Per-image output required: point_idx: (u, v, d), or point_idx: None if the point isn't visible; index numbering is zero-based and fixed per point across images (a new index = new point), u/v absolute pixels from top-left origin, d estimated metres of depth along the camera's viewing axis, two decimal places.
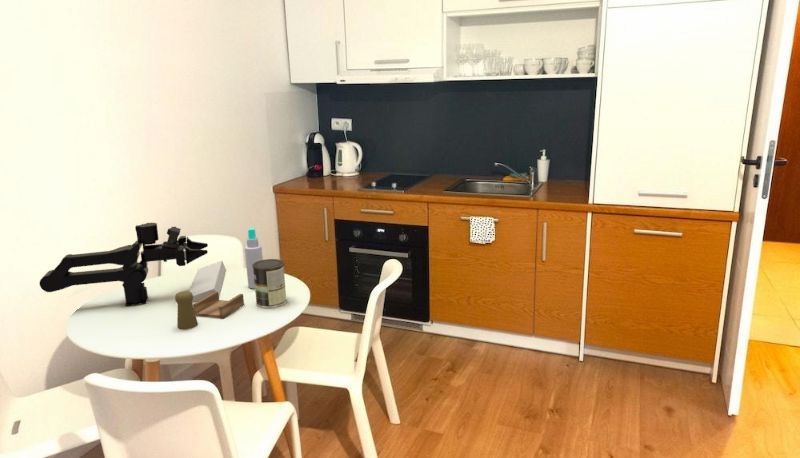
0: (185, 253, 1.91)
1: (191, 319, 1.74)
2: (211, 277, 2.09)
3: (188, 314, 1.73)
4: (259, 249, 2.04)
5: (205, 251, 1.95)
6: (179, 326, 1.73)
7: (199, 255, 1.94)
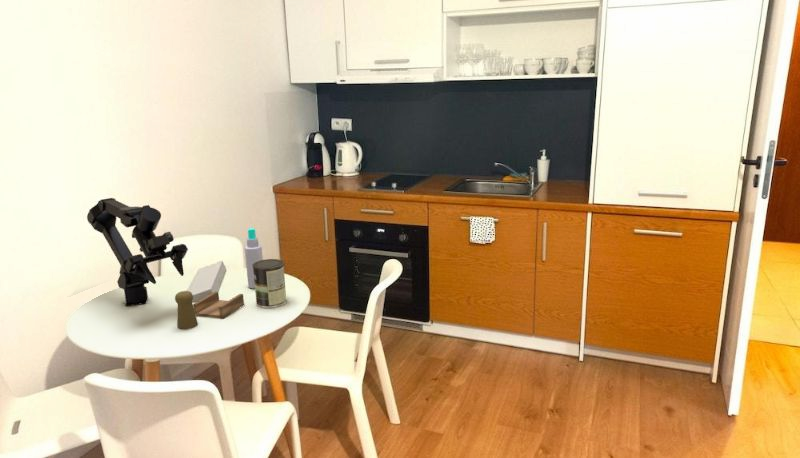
0: (135, 266, 1.73)
1: (191, 319, 1.74)
2: (210, 277, 2.09)
3: (188, 314, 1.73)
4: (259, 249, 2.04)
5: (153, 281, 1.74)
6: (179, 326, 1.73)
7: (147, 278, 1.75)
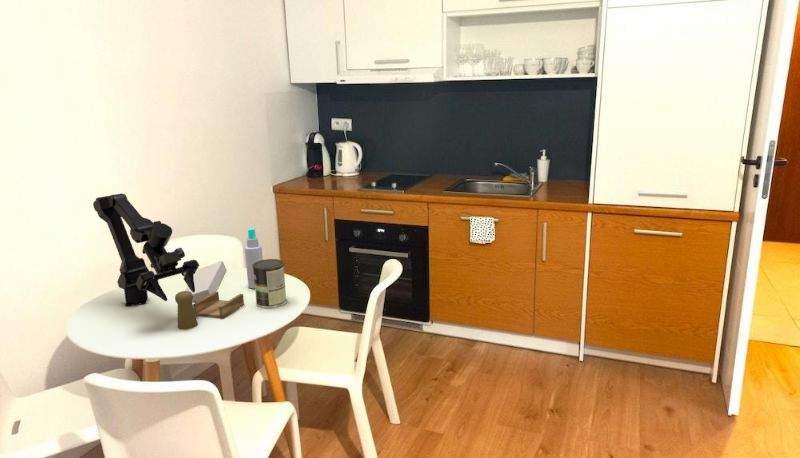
0: (146, 283, 1.70)
1: (191, 319, 1.74)
2: (208, 277, 2.09)
3: (188, 314, 1.73)
4: (259, 249, 2.04)
5: (164, 298, 1.71)
6: (179, 326, 1.73)
7: (158, 295, 1.72)
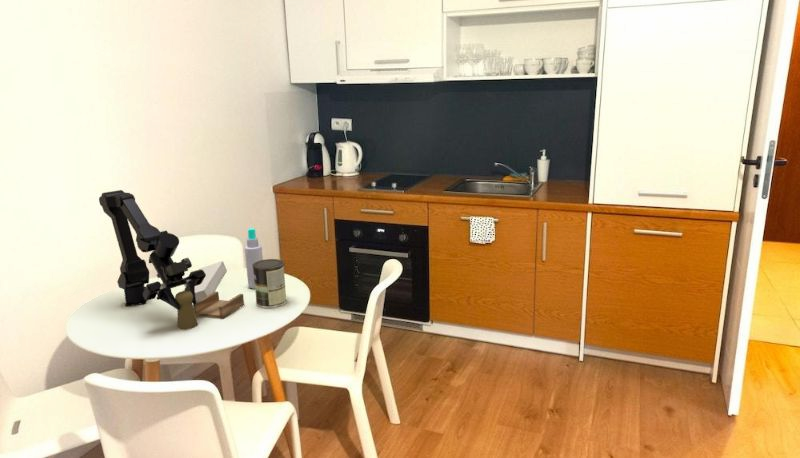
0: (159, 292, 1.70)
1: (191, 319, 1.74)
2: (206, 278, 2.09)
3: (188, 314, 1.73)
4: (259, 249, 2.04)
5: (177, 307, 1.71)
6: (179, 326, 1.73)
7: (171, 304, 1.72)
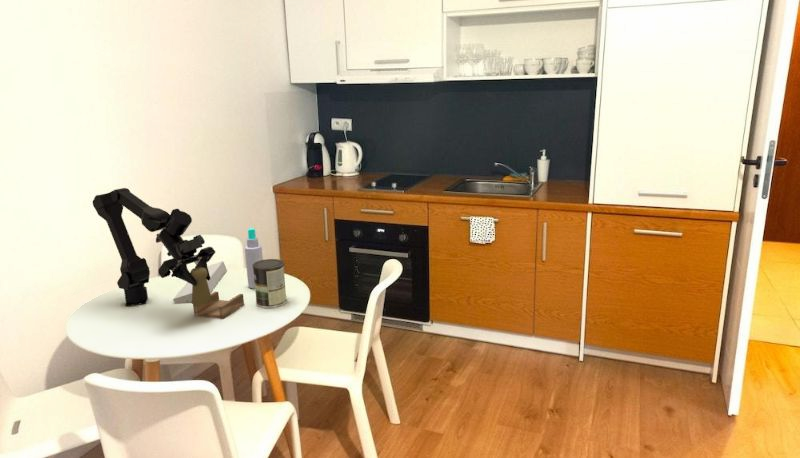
0: (175, 268, 1.73)
1: (207, 294, 1.78)
2: None
3: (204, 289, 1.77)
4: (259, 249, 2.04)
5: (194, 283, 1.75)
6: (195, 302, 1.77)
7: (187, 280, 1.75)
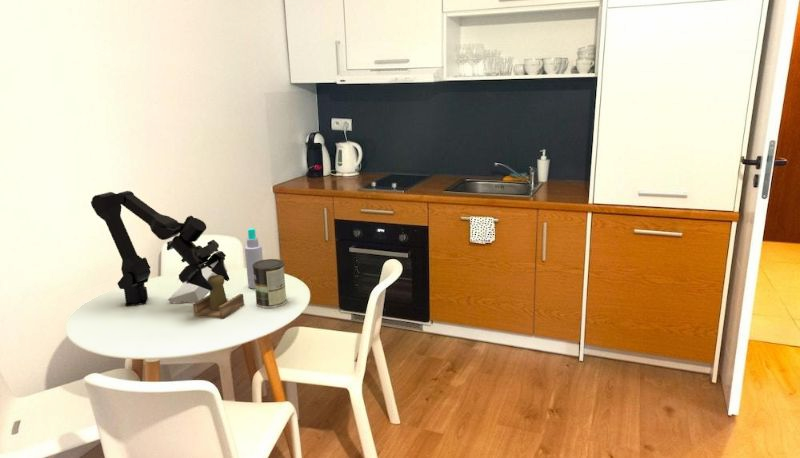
0: (192, 275, 1.77)
1: (225, 300, 1.86)
2: None
3: (223, 295, 1.85)
4: (259, 249, 2.04)
5: (210, 288, 1.80)
6: (214, 308, 1.84)
7: (203, 286, 1.80)
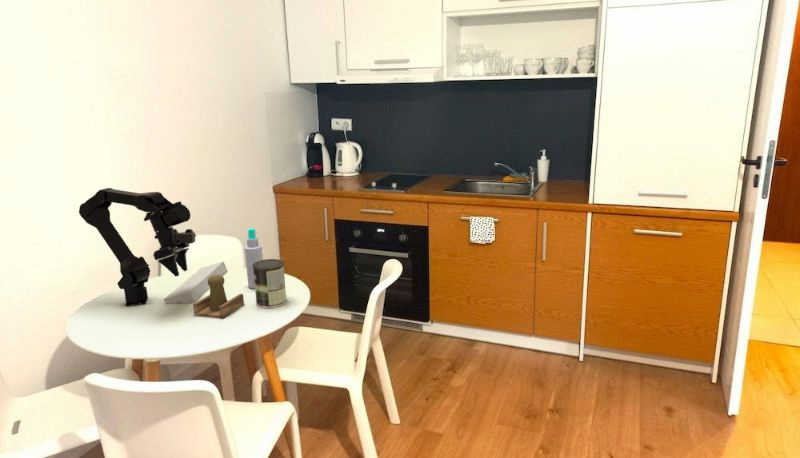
0: (168, 256, 1.79)
1: (225, 300, 1.86)
2: (200, 278, 2.08)
3: (223, 295, 1.85)
4: (259, 249, 2.04)
5: (177, 274, 1.83)
6: (214, 308, 1.84)
7: (171, 269, 1.82)
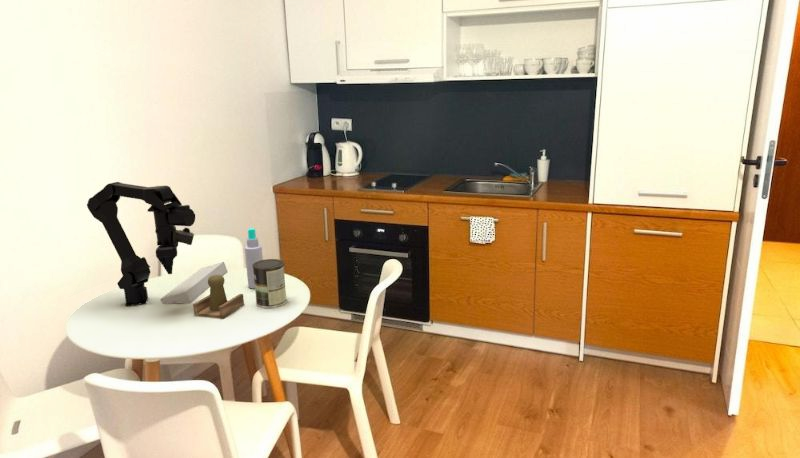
0: (170, 256, 1.80)
1: (225, 300, 1.86)
2: (198, 279, 2.08)
3: (223, 295, 1.85)
4: (259, 249, 2.04)
5: (170, 272, 1.84)
6: (214, 308, 1.84)
7: (166, 267, 1.83)
